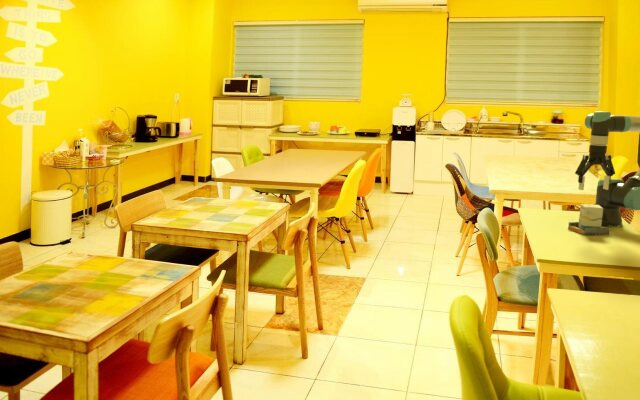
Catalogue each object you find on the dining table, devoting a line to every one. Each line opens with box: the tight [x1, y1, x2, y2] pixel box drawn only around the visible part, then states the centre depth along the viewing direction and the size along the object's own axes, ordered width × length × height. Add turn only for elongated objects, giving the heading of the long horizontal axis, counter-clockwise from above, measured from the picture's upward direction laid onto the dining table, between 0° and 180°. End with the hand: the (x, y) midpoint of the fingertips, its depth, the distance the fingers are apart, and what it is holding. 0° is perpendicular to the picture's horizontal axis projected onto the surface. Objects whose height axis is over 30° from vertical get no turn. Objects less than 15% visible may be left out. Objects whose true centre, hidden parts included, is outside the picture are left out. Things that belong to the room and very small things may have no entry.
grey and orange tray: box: [567, 221, 611, 237], centre depth 300 cm, size 13×13×4 cm
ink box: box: [578, 203, 603, 230], centre depth 299 cm, size 9×8×12 cm
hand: (593, 189), depth 296 cm, fingers open, 13 cm apart
